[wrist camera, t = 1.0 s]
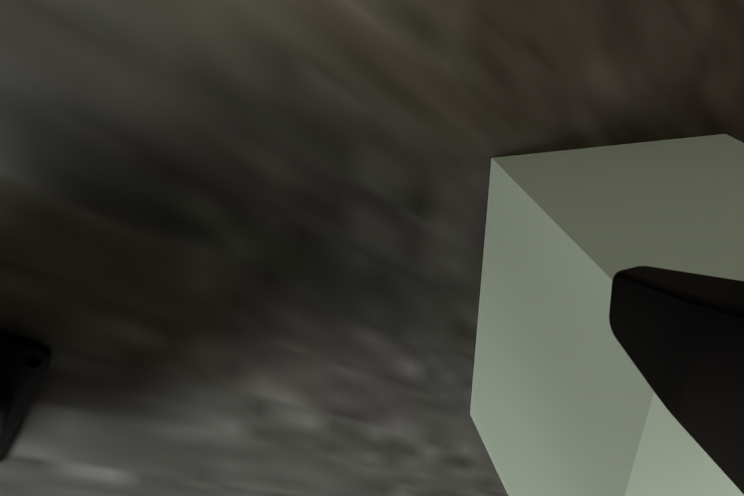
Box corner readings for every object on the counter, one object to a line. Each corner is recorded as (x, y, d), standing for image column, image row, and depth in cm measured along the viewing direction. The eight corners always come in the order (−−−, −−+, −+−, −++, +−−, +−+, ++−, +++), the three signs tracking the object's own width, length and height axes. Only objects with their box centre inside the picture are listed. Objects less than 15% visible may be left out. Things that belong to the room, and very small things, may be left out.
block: (469, 412, 27) (580, 649, 19) (490, 157, 21) (669, 338, 13) (654, 380, 29) (834, 586, 20) (723, 133, 23) (1021, 281, 14)
